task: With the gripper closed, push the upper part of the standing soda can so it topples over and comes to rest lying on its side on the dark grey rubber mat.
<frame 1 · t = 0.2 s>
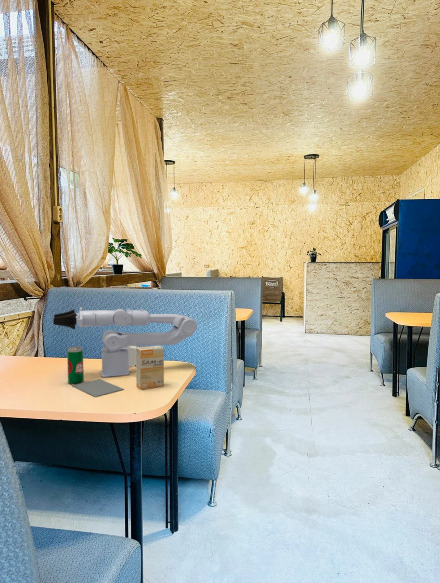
hand: (53, 319, 138), 21 cm above the table, tool horizontal, fingers open, 7 cm apart
soda can: (76, 382, 136), on the table
supplement box: (150, 387, 132), on the table
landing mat: (97, 388, 130), on the table
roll: (130, 365, 159), on the table
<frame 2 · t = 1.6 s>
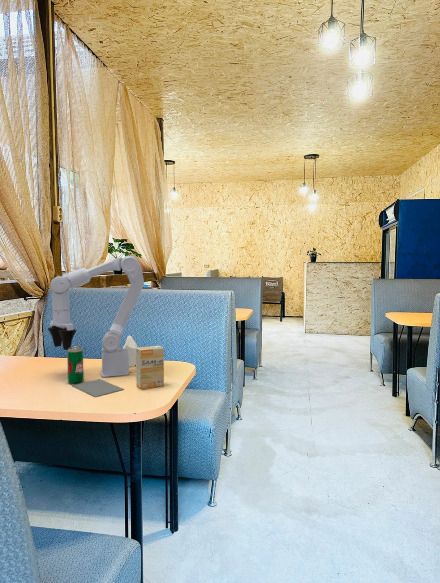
hand: (62, 347, 142), 10 cm above the table, tool pointing down, fingers open, 7 cm apart
nothing on the table moved.
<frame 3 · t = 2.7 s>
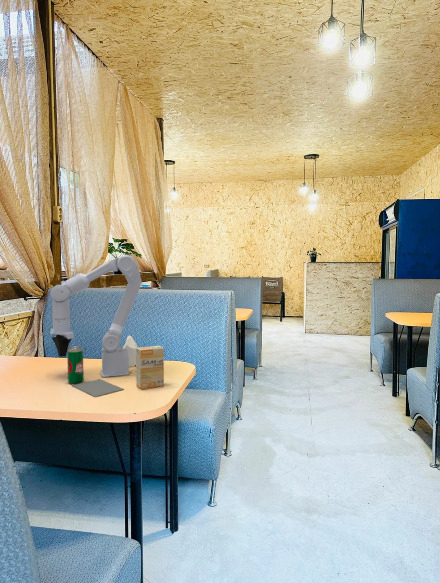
hand: (62, 356, 143), 7 cm above the table, tool pointing down, fingers closed
nothing on the table moved.
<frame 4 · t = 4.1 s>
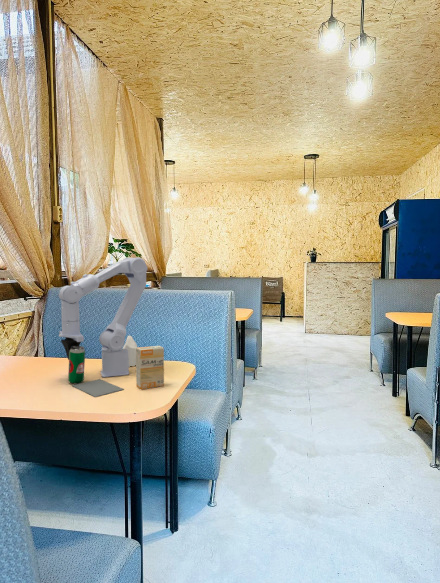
hand: (71, 359, 137), 7 cm above the table, tool pointing down, fingers closed
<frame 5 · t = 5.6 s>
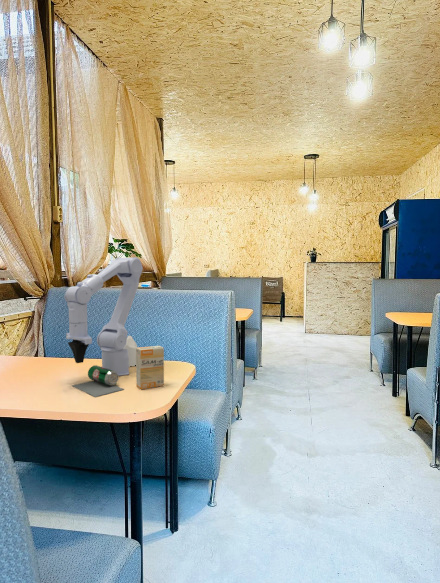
hand: (79, 362, 133), 7 cm above the table, tool pointing down, fingers closed
soda can: (93, 372, 138), point 3 cm above the table, touching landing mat
everything else where it was.
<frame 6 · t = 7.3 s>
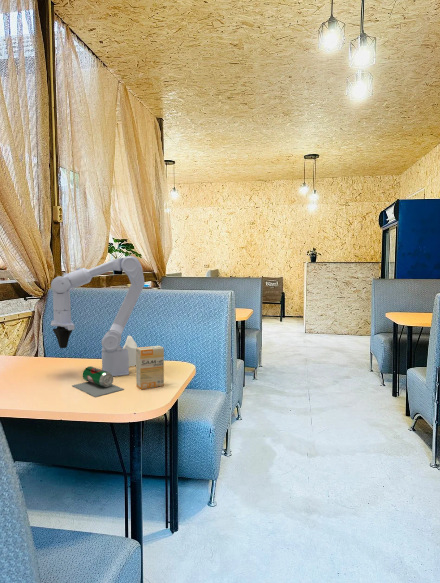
hand: (63, 347, 143), 10 cm above the table, tool pointing down, fingers closed
soda can: (88, 373, 137), point 3 cm above the table, touching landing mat
everything else where it was.
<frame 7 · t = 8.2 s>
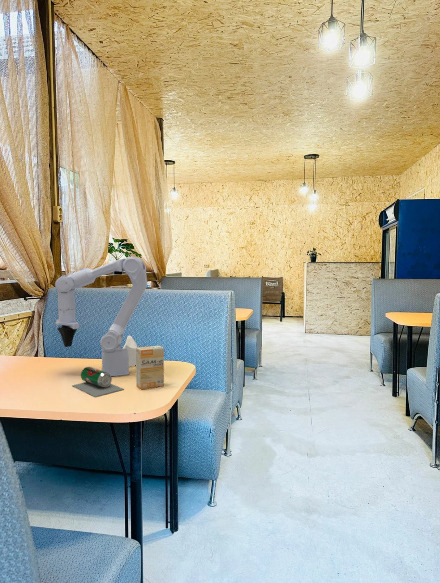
hand: (67, 346, 145), 10 cm above the table, tool pointing down, fingers closed
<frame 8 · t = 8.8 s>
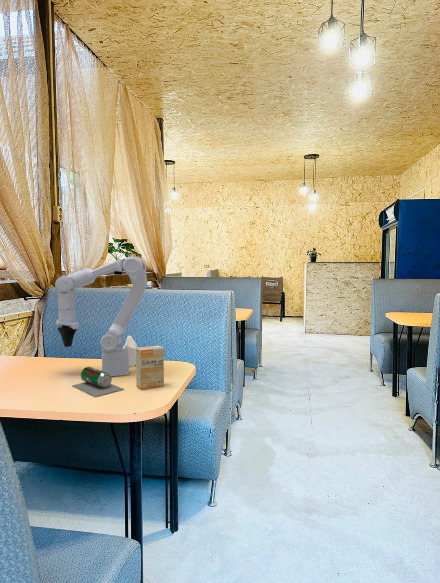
hand: (67, 346, 145), 10 cm above the table, tool pointing down, fingers closed
nothing on the table moved.
at the end: soda can tilted 90°; soda can touching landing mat; the gripper is holding nothing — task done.
